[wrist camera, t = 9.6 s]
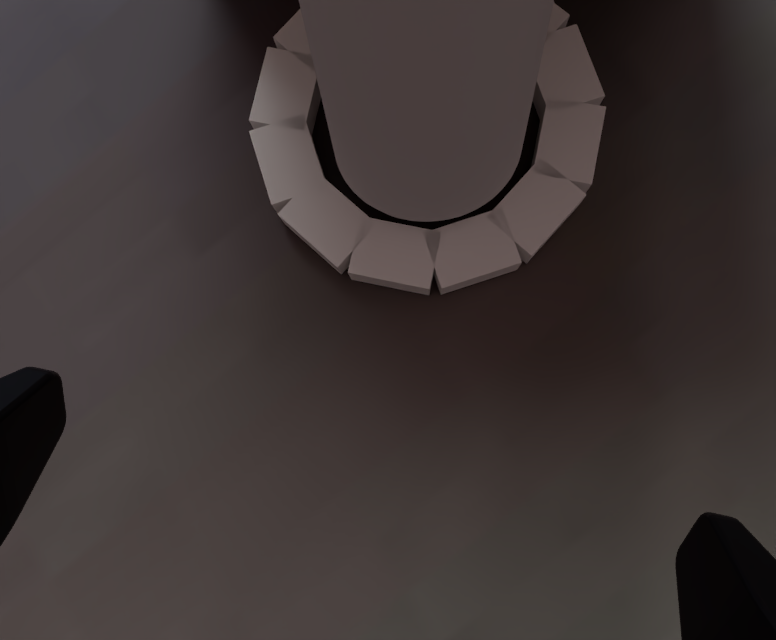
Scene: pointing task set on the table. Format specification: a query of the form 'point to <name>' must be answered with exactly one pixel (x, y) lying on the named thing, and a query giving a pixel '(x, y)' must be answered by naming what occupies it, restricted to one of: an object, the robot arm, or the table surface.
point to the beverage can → (426, 96)
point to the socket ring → (414, 244)
